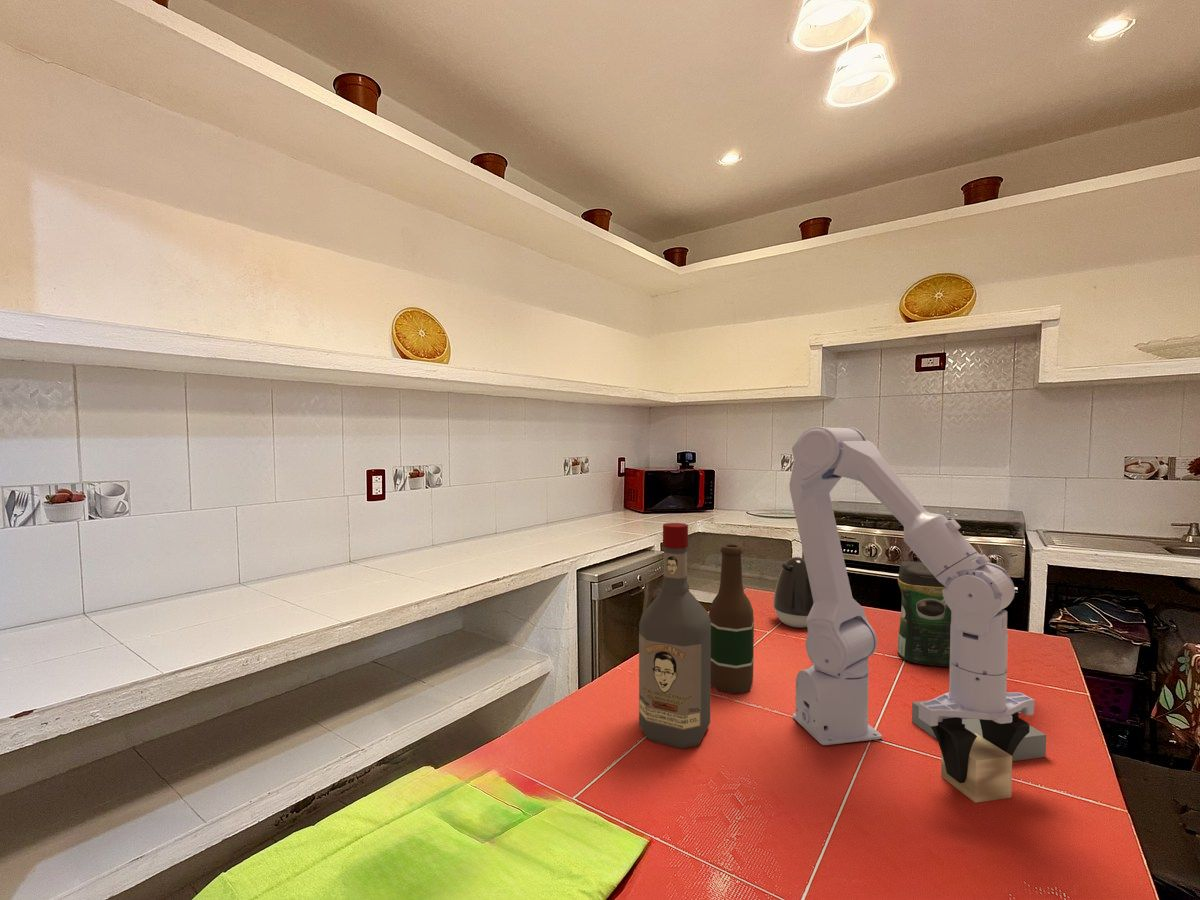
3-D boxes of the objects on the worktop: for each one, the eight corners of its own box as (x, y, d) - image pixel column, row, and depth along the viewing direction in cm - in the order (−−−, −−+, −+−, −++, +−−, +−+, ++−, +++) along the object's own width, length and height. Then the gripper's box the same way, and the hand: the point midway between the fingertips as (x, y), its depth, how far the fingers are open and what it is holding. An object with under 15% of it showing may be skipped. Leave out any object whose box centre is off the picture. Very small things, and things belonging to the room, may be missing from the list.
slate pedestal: (974, 766, 71) (975, 743, 71) (911, 721, 82) (912, 702, 81) (1045, 756, 73) (1046, 734, 73) (974, 714, 84) (975, 695, 83)
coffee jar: (949, 654, 106) (950, 559, 106) (961, 671, 99) (963, 569, 98) (893, 648, 110) (894, 556, 109) (901, 663, 102) (902, 565, 102)
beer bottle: (723, 670, 99) (724, 539, 99) (762, 684, 94) (763, 545, 93) (698, 684, 94) (699, 545, 93) (738, 699, 88) (739, 552, 88)
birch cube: (975, 802, 64) (976, 760, 64) (941, 776, 69) (941, 737, 68) (1011, 797, 65) (1012, 756, 64) (975, 771, 70) (975, 733, 69)
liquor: (655, 708, 86) (656, 518, 85) (713, 721, 82) (714, 522, 81) (634, 738, 77) (634, 527, 76) (697, 754, 73) (698, 532, 72)
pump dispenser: (763, 622, 124) (763, 556, 124) (790, 613, 131) (790, 550, 130) (803, 635, 116) (804, 565, 116) (830, 625, 122) (831, 558, 122)
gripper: (952, 685, 61) (950, 804, 61) (1060, 674, 64) (1057, 788, 64) (906, 659, 68) (904, 766, 68) (1005, 650, 70) (1003, 754, 71)
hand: (975, 775), depth 67 cm, fingers closed on birch cube, 5 cm apart
